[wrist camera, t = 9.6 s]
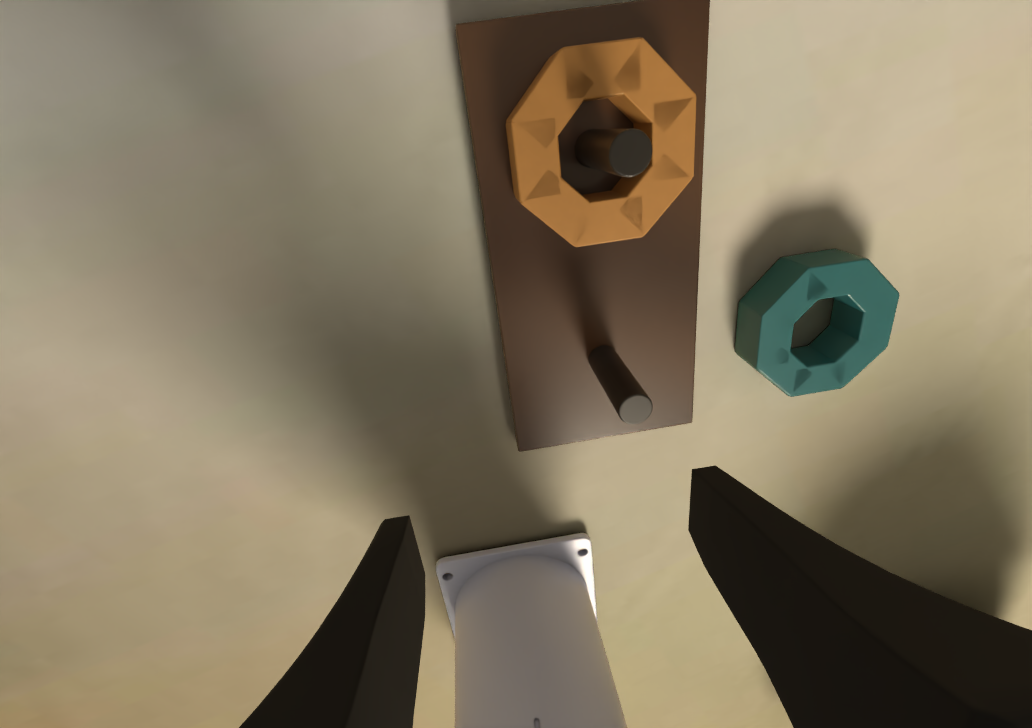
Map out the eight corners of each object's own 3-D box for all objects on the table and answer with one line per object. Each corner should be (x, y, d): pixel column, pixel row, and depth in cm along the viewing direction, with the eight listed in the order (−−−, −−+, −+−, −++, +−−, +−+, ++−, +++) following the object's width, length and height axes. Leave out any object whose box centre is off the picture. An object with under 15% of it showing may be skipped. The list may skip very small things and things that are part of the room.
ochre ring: (671, 221, 18) (692, 230, 17) (519, 243, 18) (526, 255, 16) (674, 39, 16) (699, 28, 14) (497, 62, 15) (502, 54, 14)
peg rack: (685, 413, 23) (741, 482, 18) (516, 442, 23) (532, 519, 18) (699, -4, 16) (795, -56, 11) (455, 28, 16) (454, -14, 11)
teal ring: (850, 364, 23) (880, 382, 21) (731, 384, 22) (752, 404, 21) (874, 242, 20) (910, 251, 19) (741, 262, 20) (766, 274, 18)
